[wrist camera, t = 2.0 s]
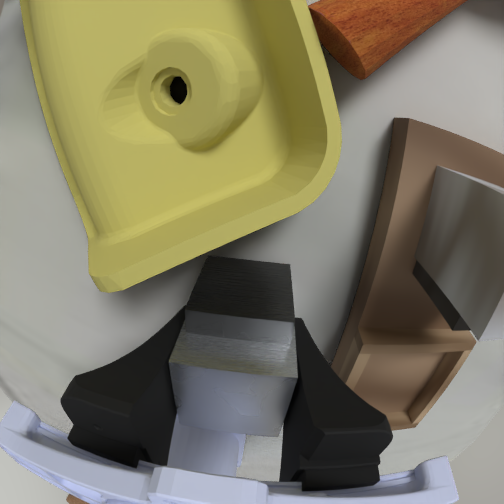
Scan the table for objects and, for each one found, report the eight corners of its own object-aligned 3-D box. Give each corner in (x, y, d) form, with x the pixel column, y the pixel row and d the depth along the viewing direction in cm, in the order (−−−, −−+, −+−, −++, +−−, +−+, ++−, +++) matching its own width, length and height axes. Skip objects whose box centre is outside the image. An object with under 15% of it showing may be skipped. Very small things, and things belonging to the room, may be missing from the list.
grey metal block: (278, 341, 15) (278, 436, 10) (205, 333, 16) (179, 424, 10) (293, 259, 13) (304, 355, 8) (206, 250, 13) (165, 338, 8)
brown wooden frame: (403, 402, 18) (425, 479, 12) (314, 405, 18) (320, 495, 12) (506, 158, 10) (604, 202, 4) (394, 117, 10) (508, 130, 4)
